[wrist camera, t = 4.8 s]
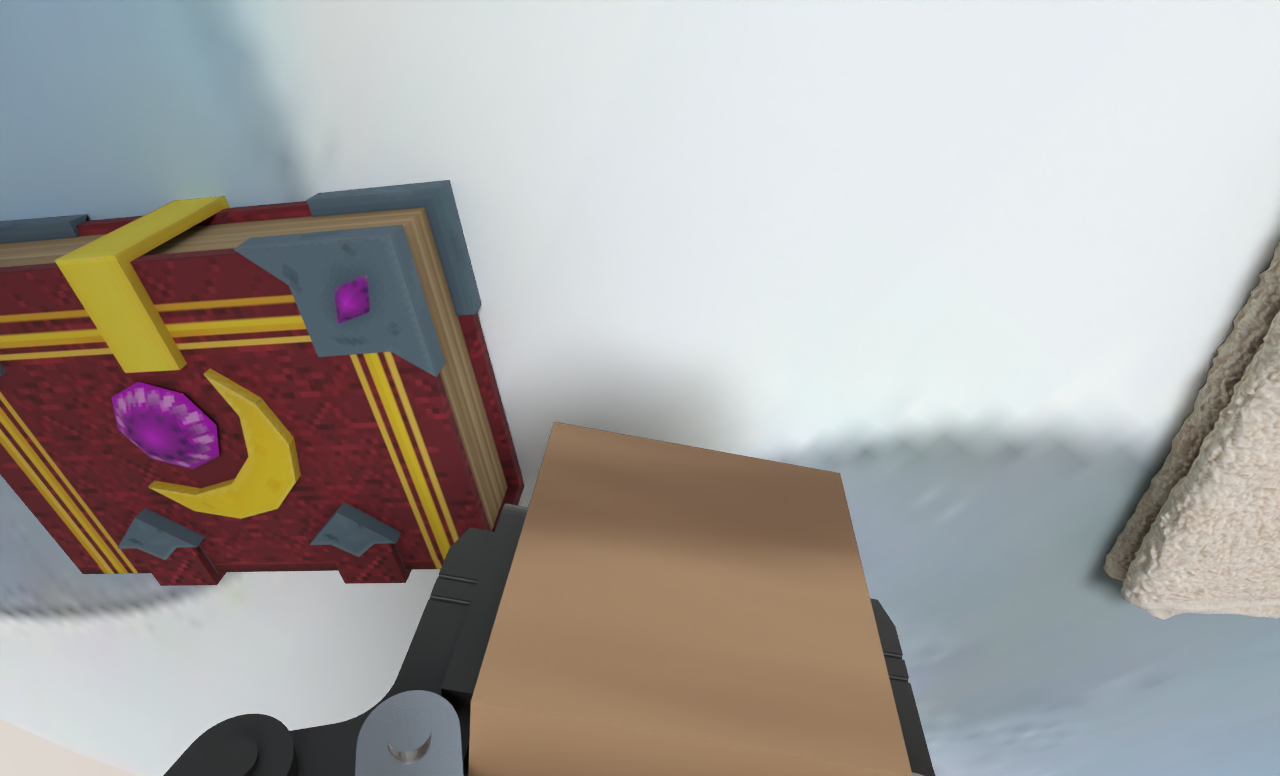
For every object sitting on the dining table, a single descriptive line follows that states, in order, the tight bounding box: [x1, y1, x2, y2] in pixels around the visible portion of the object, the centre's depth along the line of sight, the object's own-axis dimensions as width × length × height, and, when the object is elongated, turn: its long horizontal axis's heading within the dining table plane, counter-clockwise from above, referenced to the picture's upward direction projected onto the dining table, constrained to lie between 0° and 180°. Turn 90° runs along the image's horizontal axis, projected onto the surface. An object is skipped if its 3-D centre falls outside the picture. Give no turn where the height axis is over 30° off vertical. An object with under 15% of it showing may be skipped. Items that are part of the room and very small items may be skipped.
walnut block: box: [468, 422, 912, 776], centre depth 11 cm, size 5×5×5 cm
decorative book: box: [0, 180, 524, 586], centre depth 21 cm, size 11×16×5 cm
